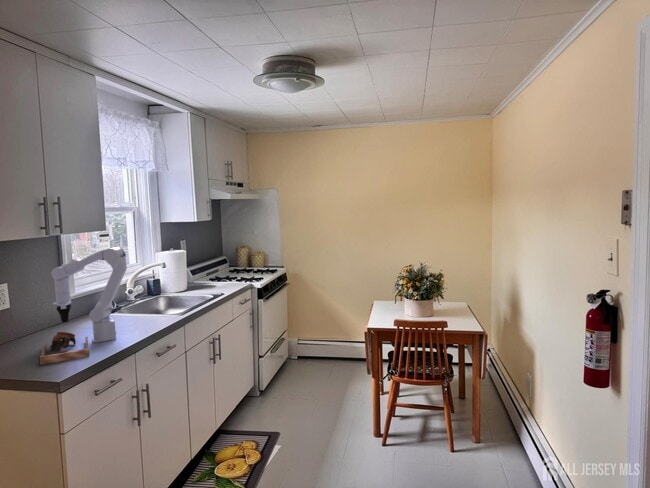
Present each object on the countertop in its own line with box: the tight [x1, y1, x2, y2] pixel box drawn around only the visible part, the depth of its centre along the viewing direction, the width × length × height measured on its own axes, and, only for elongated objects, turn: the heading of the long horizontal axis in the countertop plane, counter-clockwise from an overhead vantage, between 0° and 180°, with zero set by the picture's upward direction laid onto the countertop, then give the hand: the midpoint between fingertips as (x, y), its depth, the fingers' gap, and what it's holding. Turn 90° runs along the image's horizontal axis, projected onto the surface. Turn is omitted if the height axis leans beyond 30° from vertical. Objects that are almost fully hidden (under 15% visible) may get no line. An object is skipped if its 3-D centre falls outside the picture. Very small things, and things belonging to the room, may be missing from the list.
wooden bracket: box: [39, 336, 90, 365], centre depth 185 cm, size 17×23×3 cm
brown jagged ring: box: [49, 331, 77, 352], centre depth 191 cm, size 12×10×8 cm
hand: (65, 321), depth 200 cm, fingers open, 2 cm apart
